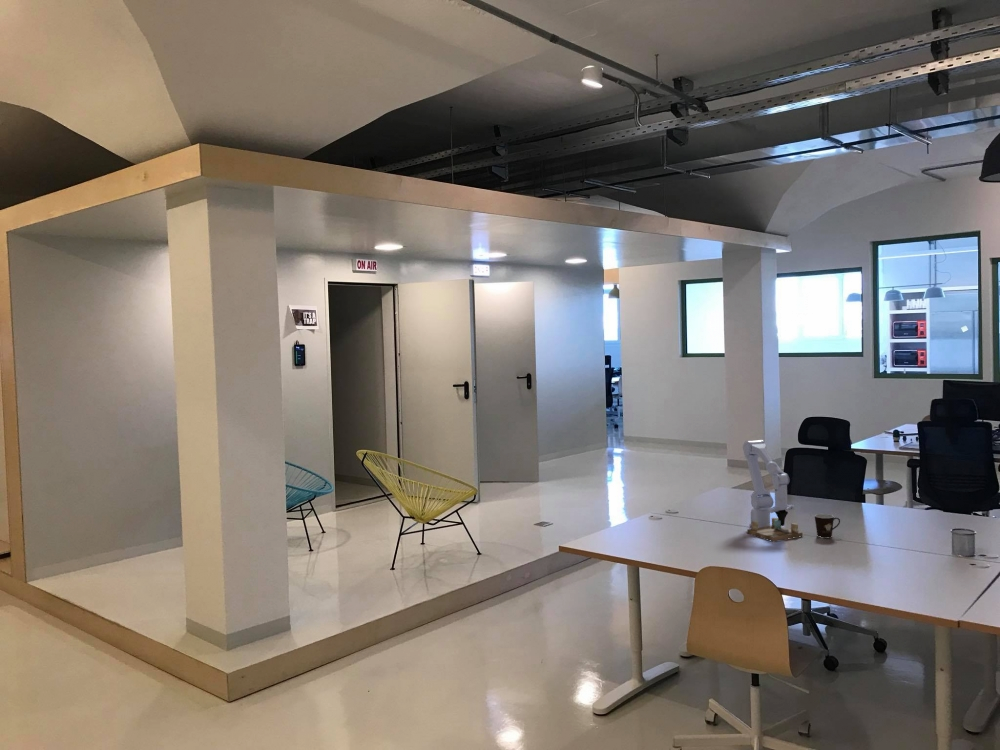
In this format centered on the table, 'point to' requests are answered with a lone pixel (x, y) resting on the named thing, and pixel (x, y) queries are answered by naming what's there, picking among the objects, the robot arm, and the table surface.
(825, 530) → the coffee mug
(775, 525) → the folding leg
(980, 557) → the table surface
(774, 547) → the table surface
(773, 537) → the stool seat
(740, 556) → the table surface
